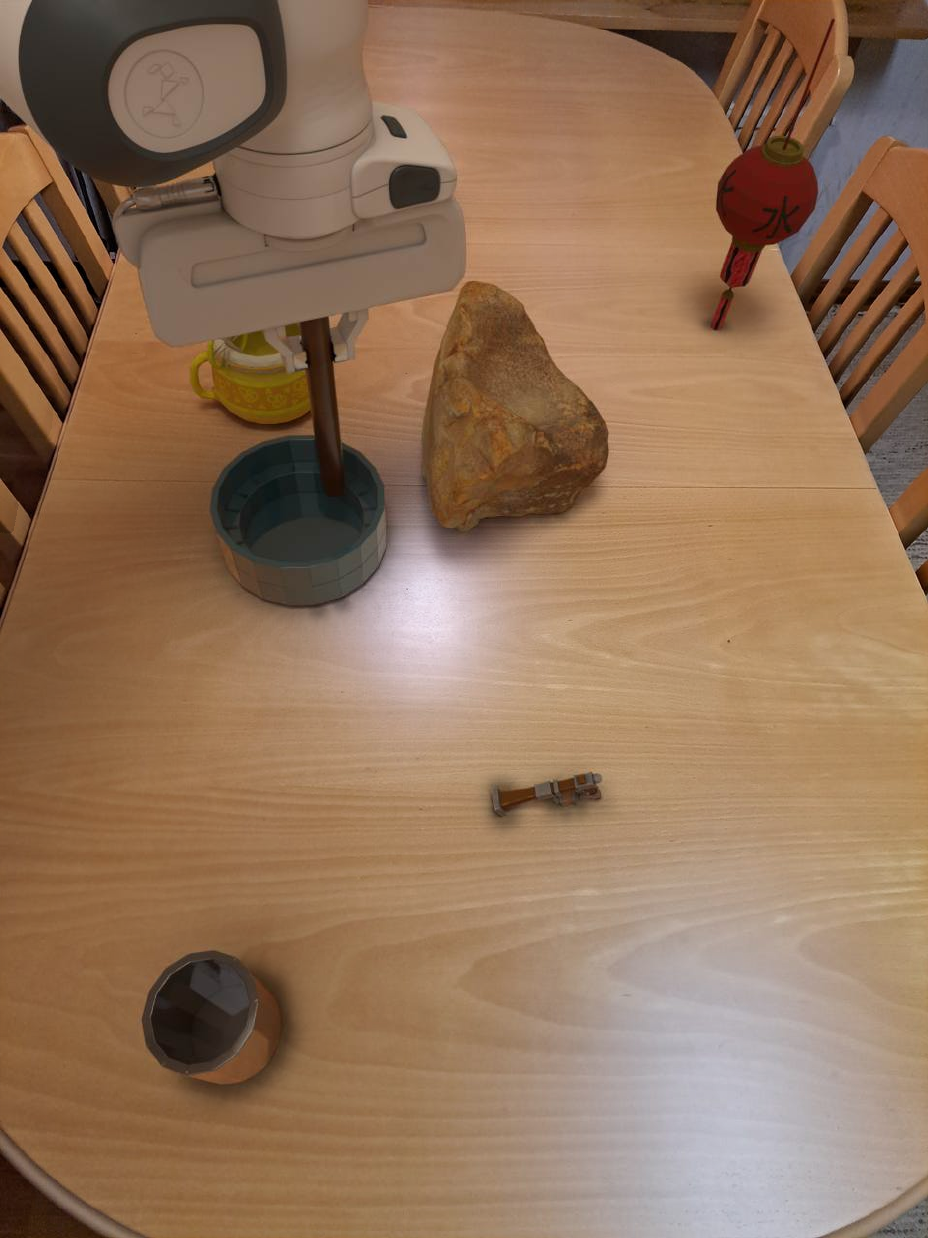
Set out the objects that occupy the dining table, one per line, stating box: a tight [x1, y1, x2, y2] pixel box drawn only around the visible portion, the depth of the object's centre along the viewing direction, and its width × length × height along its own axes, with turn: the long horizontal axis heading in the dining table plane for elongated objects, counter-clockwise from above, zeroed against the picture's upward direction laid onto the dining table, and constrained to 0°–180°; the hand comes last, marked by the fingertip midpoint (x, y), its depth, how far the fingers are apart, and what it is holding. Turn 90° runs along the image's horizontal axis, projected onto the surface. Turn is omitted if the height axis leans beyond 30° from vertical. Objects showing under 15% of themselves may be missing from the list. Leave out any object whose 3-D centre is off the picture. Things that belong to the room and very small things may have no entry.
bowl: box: [209, 434, 387, 606], centre depth 71 cm, size 14×14×6 cm
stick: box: [299, 316, 346, 498], centre depth 61 cm, size 2×2×18 cm
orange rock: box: [420, 280, 610, 533], centre depth 73 cm, size 23×17×15 cm
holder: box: [141, 949, 283, 1085], centre depth 48 cm, size 6×6×10 cm
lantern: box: [710, 18, 836, 331], centre depth 79 cm, size 10×10×30 cm
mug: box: [189, 323, 311, 425], centre depth 77 cm, size 13×11×12 cm
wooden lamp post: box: [491, 770, 603, 817], centre depth 61 cm, size 2×8×4 cm, turn 96°
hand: (318, 360), depth 58 cm, fingers closed on stick, 2 cm apart
